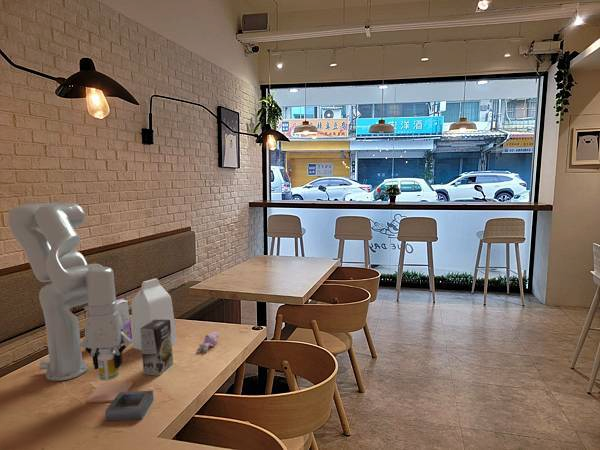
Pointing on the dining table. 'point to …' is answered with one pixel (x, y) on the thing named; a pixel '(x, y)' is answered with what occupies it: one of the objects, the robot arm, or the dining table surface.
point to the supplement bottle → (107, 364)
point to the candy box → (124, 316)
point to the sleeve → (129, 413)
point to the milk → (151, 309)
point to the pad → (108, 392)
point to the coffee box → (156, 347)
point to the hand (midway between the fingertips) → (108, 366)
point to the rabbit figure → (208, 342)
